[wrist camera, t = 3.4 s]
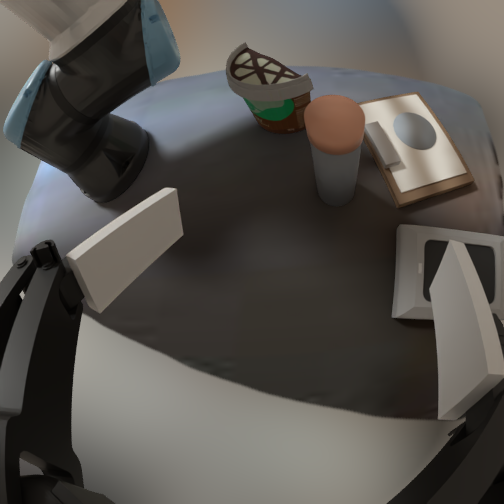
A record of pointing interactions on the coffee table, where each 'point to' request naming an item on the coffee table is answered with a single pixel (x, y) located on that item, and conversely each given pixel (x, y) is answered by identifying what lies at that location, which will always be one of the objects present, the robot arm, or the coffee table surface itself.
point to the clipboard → (412, 149)
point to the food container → (269, 90)
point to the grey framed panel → (428, 261)
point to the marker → (335, 145)
